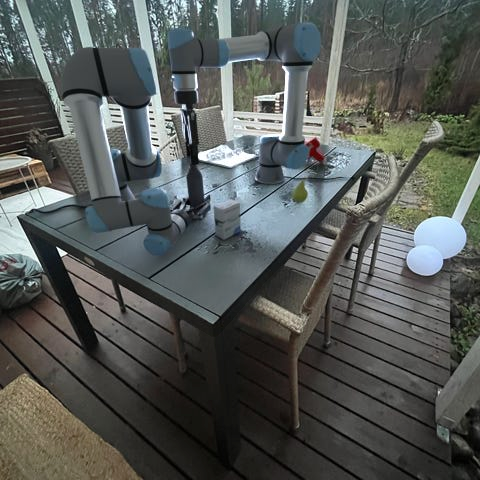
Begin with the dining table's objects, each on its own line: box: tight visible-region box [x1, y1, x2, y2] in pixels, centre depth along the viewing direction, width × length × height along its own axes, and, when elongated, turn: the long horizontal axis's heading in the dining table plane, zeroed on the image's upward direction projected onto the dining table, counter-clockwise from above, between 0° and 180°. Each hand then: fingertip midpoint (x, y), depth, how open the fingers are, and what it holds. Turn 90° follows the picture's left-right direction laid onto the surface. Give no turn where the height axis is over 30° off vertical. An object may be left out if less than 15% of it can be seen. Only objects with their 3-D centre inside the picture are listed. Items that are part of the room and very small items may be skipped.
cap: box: [186, 155, 191, 164], centre depth 99 cm, size 4×4×2 cm
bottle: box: [185, 163, 207, 220], centre depth 105 cm, size 6×6×23 cm
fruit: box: [291, 174, 311, 204], centre depth 118 cm, size 7×8×12 cm
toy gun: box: [304, 136, 326, 164], centre depth 169 cm, size 18×4×15 cm
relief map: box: [198, 143, 257, 169], centre depth 179 cm, size 27×35×5 cm
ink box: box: [213, 198, 242, 240], centre depth 96 cm, size 8×5×12 cm, turn 135°
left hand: (201, 196), depth 112 cm, fingers closed on bottle, 6 cm apart
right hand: (192, 161), depth 99 cm, fingers open, 6 cm apart
